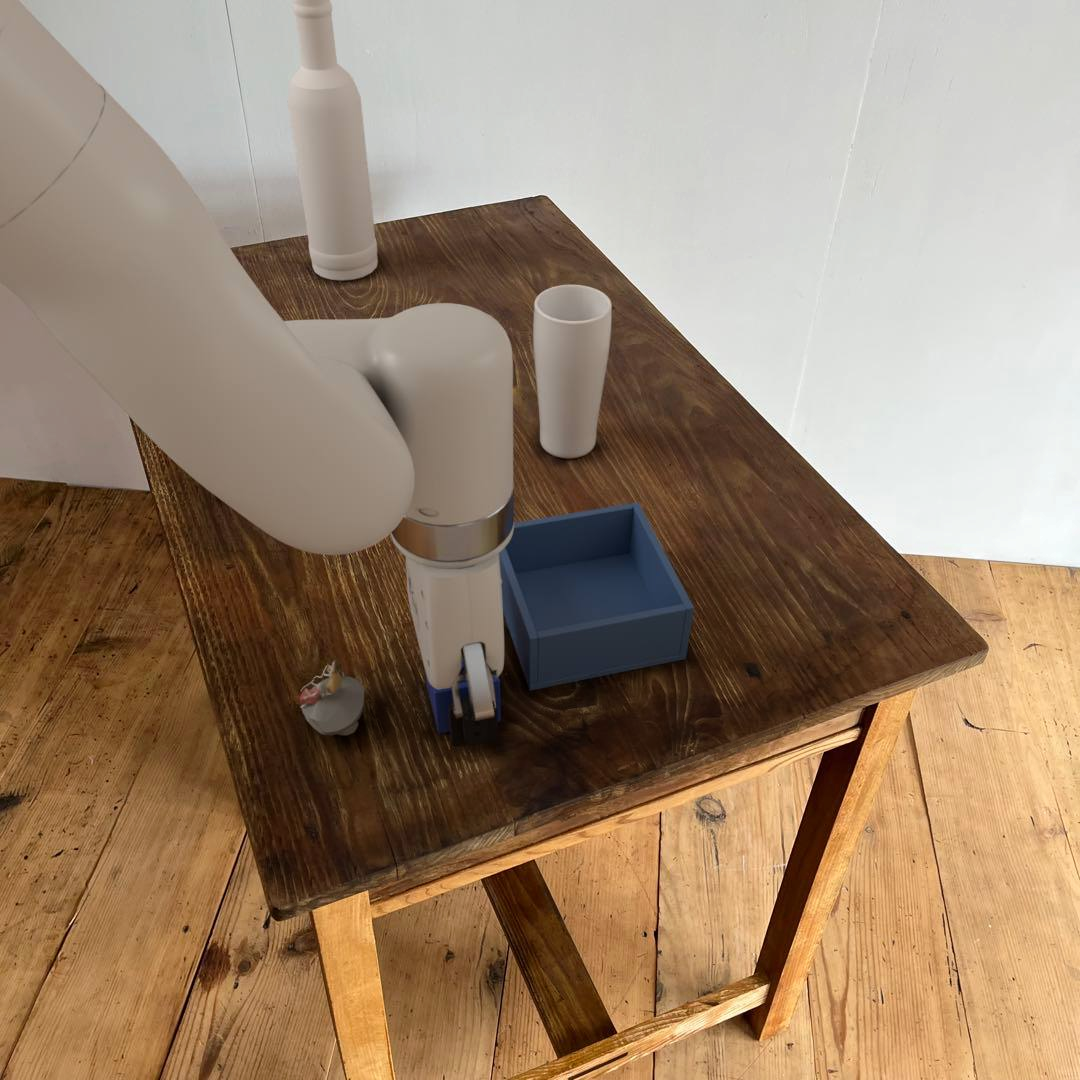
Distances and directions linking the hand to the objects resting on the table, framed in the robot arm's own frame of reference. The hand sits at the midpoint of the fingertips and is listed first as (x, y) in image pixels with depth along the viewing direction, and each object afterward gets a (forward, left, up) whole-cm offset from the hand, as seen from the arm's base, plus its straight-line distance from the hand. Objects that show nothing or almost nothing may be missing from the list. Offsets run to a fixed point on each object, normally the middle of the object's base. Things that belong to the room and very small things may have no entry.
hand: (462, 696), depth 73 cm
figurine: (-9, +1, -1) cm, 9 cm away
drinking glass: (+16, +28, -1) cm, 32 cm away
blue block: (0, 0, -1) cm, 1 cm away
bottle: (0, +69, -1) cm, 69 cm away
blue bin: (+11, +6, -1) cm, 13 cm away
